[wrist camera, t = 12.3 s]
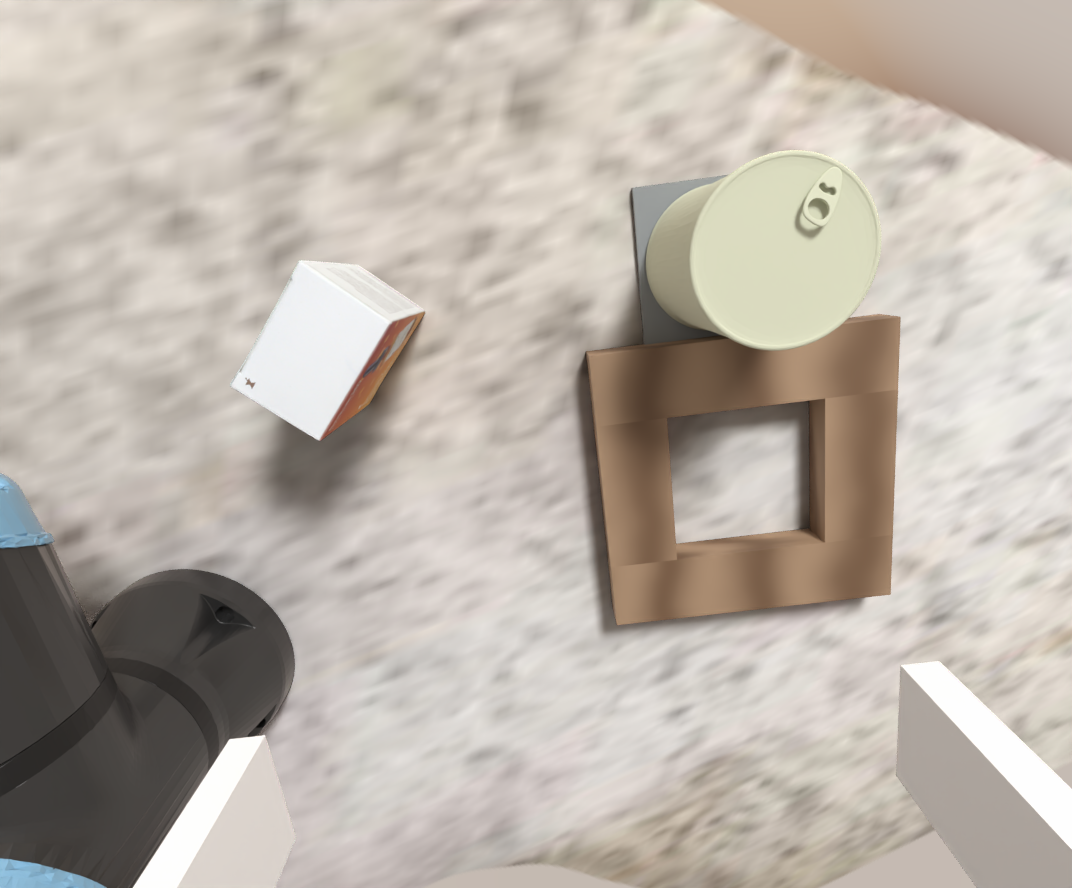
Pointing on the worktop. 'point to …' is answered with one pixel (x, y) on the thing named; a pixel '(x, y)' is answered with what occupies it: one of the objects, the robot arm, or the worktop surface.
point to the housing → (834, 470)
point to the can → (768, 251)
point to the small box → (327, 346)
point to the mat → (646, 214)
